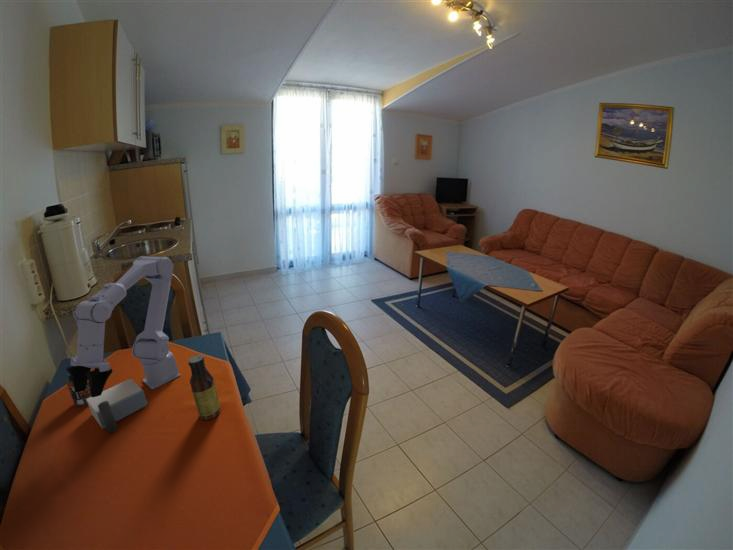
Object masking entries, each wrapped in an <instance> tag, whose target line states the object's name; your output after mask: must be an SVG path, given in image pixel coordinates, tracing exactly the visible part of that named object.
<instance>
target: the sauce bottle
mask: <svg viewBox="0 0 733 550" xmlns="http://www.w3.org/2000/svg"><path fill="white" fill-rule="evenodd" d="M187 362H188V366H189V368H190V371H191V376H190V379H189V384H190V388H191V393H192V396H193V400H194V402H195V403H194V405H195V407H196V411H197V414H198V416H199V418H200V419H201V420H204V421H207V420H209V421H210V420H212V419H214V418H216V417H217V416H218V415H219V414H220V413H221V404H220V401H219V396H218V392H217V388H216V384H215V380H214V376H212V374H211V373H210V372H209V370H208V369H207V367H206V364H205V358H204V356H203V355H202V354H197V355H194V356H191V357H189V359H188V360H187Z"/></svg>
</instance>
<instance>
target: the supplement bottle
mask: <svg viewBox="0 0 733 550" xmlns="http://www.w3.org/2000/svg"><path fill="white" fill-rule="evenodd" d="M67 376H68V380H67V381H66V385H67V388H68V391H69V394H70V396H71V399H72V402H73V403H74V405H75V406H76V407H84V406H89V405H88V403H87V400H86V399H87V398H90V397H91V394H90V384H89V380H88V379H87V385H86V389H85V391H81V392H77V393H76V392H75V390H74V386H73V382H72V379H71V377H70V375H69V373H68V372H67Z"/></svg>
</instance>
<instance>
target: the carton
mask: <svg viewBox="0 0 733 550" xmlns="http://www.w3.org/2000/svg"><path fill="white" fill-rule="evenodd" d="M141 390H143V388H142V387H140V386H139V385H138V384H137V383H136V382H135V381H134V379H132V378H128V379H127V380H124V381H122V382H119V383H118V384H115V385H114V386H112V387H109V388H107V389H105V390H103V391H102V394H101V395H100V396H97V397H90V398H87V399H86V400H87V403H88V405H87V406H88V407H89V411H90V413H91V415H92V417H93V418H94V419H95V421H96V422H97V424H99V426H100V427H101V428H102V426H101V423H100V420H99V418H98V415H97V412H99V408H98V405H99V404H100V403H102V402H104V401H108V402H109V405H110V406H111V405H113V404H115V403H117V402H119V401H121V400H123V399H125V398H127V397H129V396H131V395H133V394H135V393H137V392H139V391H141Z"/></svg>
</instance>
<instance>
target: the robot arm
mask: <svg viewBox="0 0 733 550" xmlns="http://www.w3.org/2000/svg"><path fill="white" fill-rule="evenodd" d="M174 266H175V265H174V263H173V262H172V260H171V258H169V257H167V256H145V255H141V256H138V257H137V258H136V259H135V260H133V262H132V266H131V267H130V268H129V269H128V270H127V271H126V272H125V273H124V274H123V276H121V277H120V278H119V279H118V280H117V281H116V282H109V283H105V284H104V285H103V286H102V287H103V288H101V289H99V291H98V292H96V293H95V294H93V295H92V296H91V297H90V299H89V300H84V301H82V302H80V303H79V304H77V306H76V307H75V309H74V311H72V316H73V318H74V320H75V321H76V326H77V328H78V329H77V346H76V356H72V357H70V366H69V367H66V369H65V371H66V372H67V374H68V373H69V375H70V377H71V379H72V382H73V386H74V390H75V392H76V393H77V392H81V391H85V389H86V385H87V379H88V380H89V384H90V394H91V397H97V396H100V395H101V394H102V392H103V391H104V388H105V385H106V383H107V381H108V379H109V378H110V376H111V374H112V373H113V369H112V368H110V365H111V364H110V362H107V360H105V359H104V347H105V334H106V332H105V329H106V321H107V320H109V319H110V318H111V316H112V312H113V310H115V307H117V305H118V304H120V302H121V301H122V300H124V299H125V297H127V290H129V289H130V288H131V287H132V286H134V285H135V284H136V283H137V282H139V281H140V280H141V279H143V278H144V279H145V280H146V281H148V282H149V283H150V284H151V285H152V287H151V292H150V297H149V301H148V307H147V314H146V317H145V324H144V328H143V329H144V330H143V331H142V332H140V333H139V334H137V336H136V338H135V341H134V342H133V345H132V346H131V354H132V356H133V357H134V358H137V360H138V361H139V362H140V363H141V366H142V369H143V374H144V376H145V378H143V379H142V382H143V384H145V385H147V387H149V388H150V389H151V390H154V389H157V388H158V387H160V386H162V385H164V384H166V383H168V382H170V381H172V380H174V379H176V378H178V377H180V376H181V373H179V369H178V363H177V361H176V358H175V356H174V353H173V352H171V351H170V345H169V341H170V340H169V339H170V337H169V336H168V335H167V334H166V333H165V332H163V329H164V324H165V320H166V313H167V307H168V302H169V296H170V290H171V283H172V278H173V273H174ZM92 369H93V370H92Z"/></svg>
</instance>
